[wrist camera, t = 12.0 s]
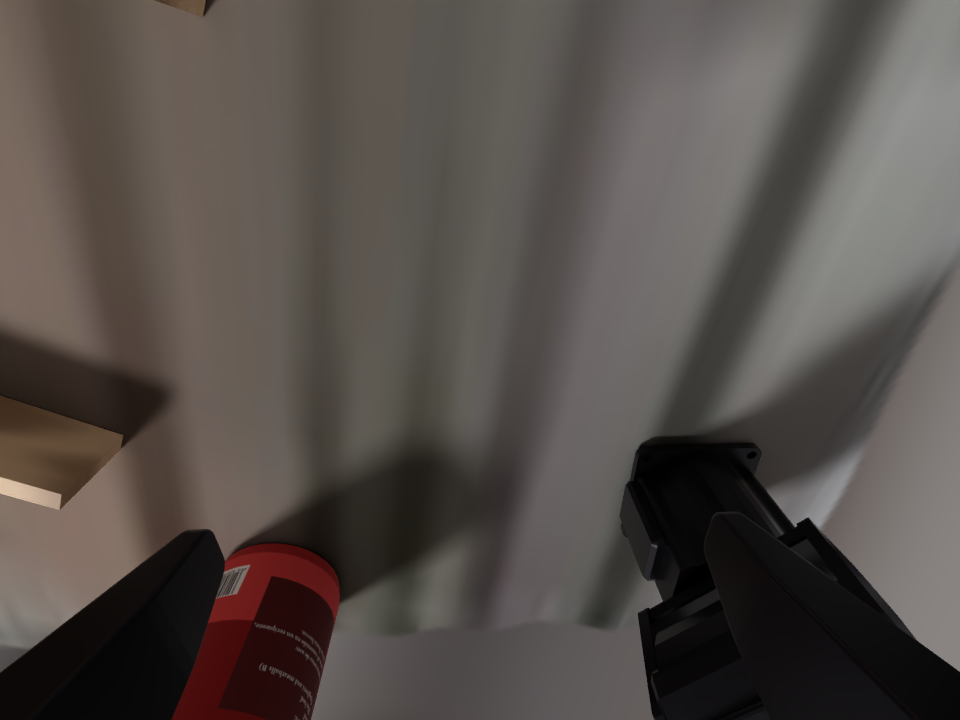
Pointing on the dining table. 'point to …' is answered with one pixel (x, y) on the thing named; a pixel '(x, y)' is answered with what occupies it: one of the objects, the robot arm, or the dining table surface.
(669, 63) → the dining table surface
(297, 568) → the canned food
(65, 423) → the cold frame
